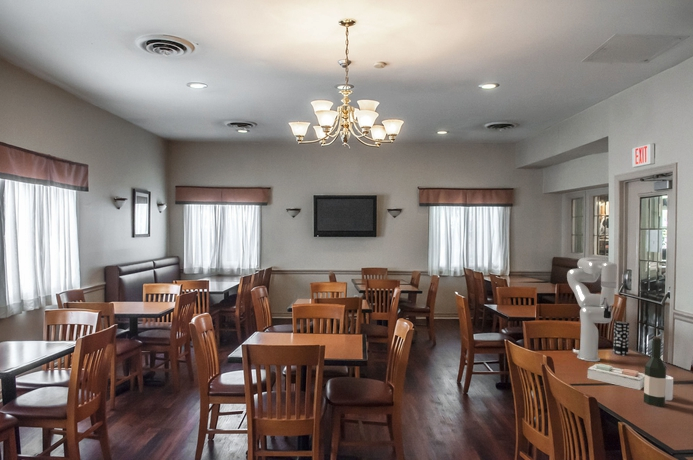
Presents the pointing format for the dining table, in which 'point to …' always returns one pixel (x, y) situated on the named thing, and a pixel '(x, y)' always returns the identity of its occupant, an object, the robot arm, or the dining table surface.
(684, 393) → the dining table surface
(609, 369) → the sage key
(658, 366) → the wine bottle
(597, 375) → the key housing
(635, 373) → the terracotta key
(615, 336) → the spotted tube
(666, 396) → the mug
